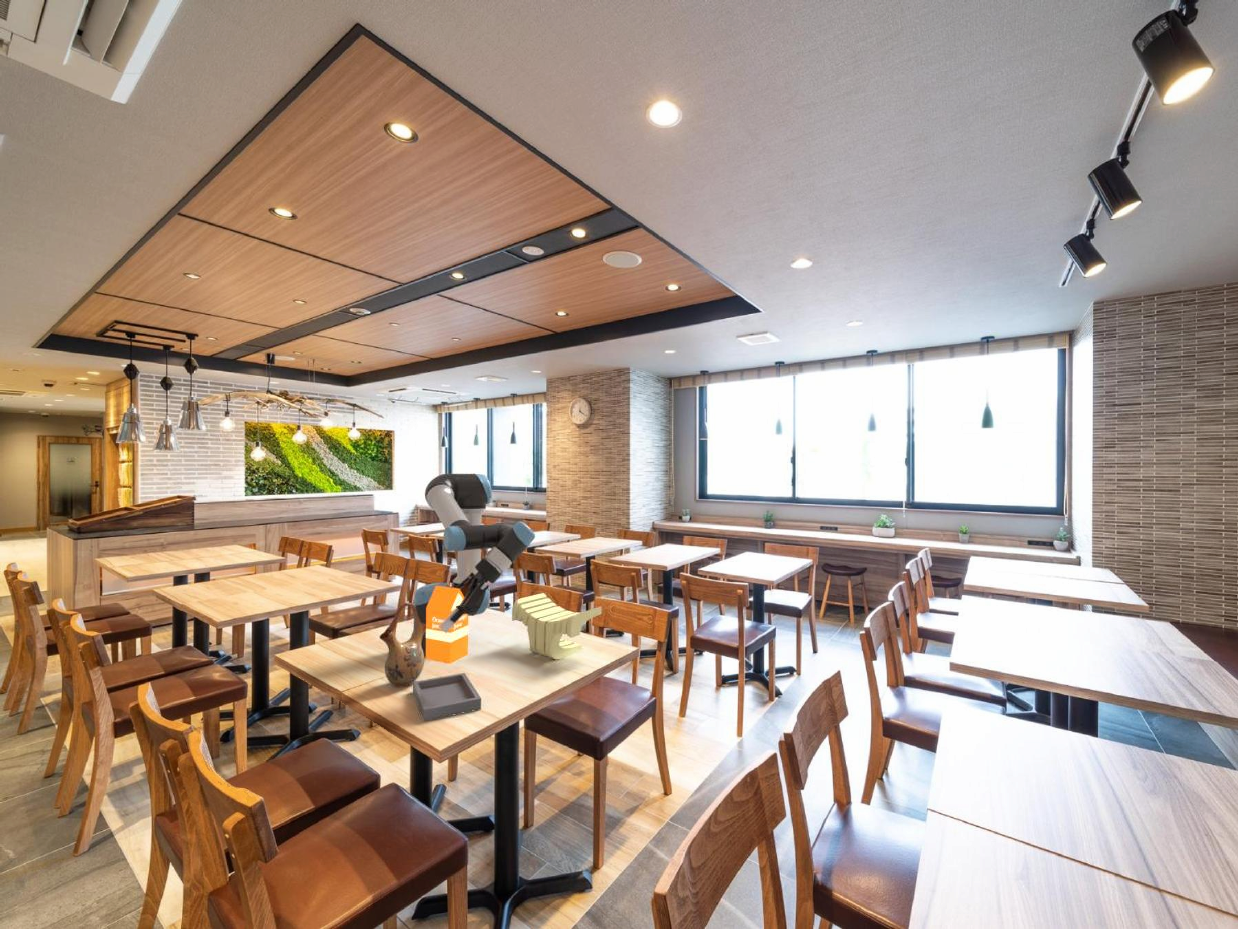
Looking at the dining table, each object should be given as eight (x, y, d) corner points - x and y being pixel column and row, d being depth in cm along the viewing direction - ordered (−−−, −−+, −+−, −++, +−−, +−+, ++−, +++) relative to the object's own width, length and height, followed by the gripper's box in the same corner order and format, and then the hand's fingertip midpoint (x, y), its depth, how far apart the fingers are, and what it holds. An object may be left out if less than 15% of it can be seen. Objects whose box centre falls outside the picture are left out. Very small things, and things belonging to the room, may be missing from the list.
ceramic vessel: (388, 697, 146) (390, 610, 147) (370, 689, 151) (372, 605, 152) (436, 679, 160) (438, 599, 160) (418, 672, 165) (420, 595, 165)
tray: (412, 692, 150) (413, 682, 150) (464, 682, 158) (464, 672, 158) (423, 721, 133) (423, 710, 133) (480, 709, 140) (481, 698, 141)
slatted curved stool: (511, 648, 189) (512, 600, 189) (542, 637, 202) (543, 592, 202) (570, 668, 171) (571, 615, 171) (600, 655, 183) (601, 606, 184)
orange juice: (444, 649, 151) (445, 582, 151) (468, 654, 148) (469, 585, 148) (425, 659, 144) (425, 588, 144) (449, 664, 140) (450, 592, 140)
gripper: (513, 581, 143) (456, 644, 135) (490, 567, 164) (439, 621, 156) (495, 564, 141) (436, 627, 133) (474, 551, 161) (421, 606, 153)
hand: (438, 624), depth 144 cm, fingers closed on orange juice, 11 cm apart
